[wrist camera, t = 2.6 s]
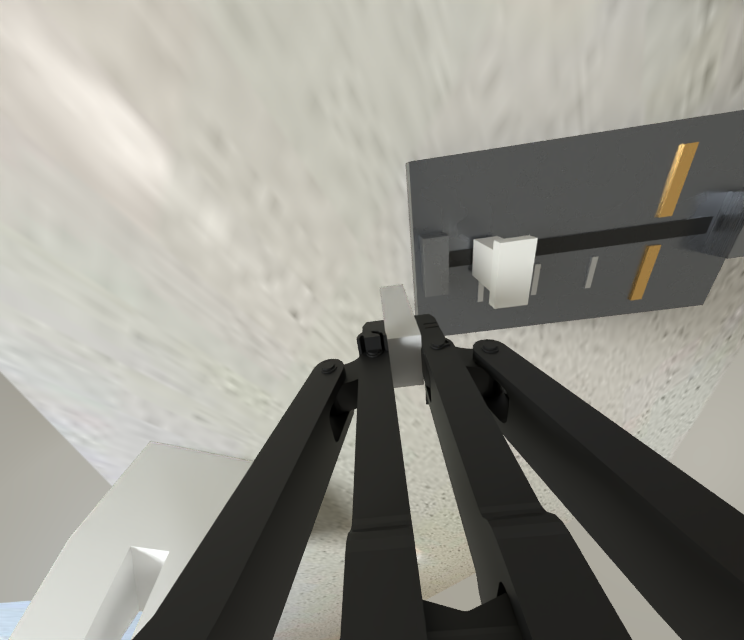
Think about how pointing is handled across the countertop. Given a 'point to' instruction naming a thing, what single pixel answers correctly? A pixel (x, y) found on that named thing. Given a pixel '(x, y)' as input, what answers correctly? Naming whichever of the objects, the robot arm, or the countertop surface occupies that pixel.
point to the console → (582, 221)
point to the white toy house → (132, 545)
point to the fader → (505, 268)
